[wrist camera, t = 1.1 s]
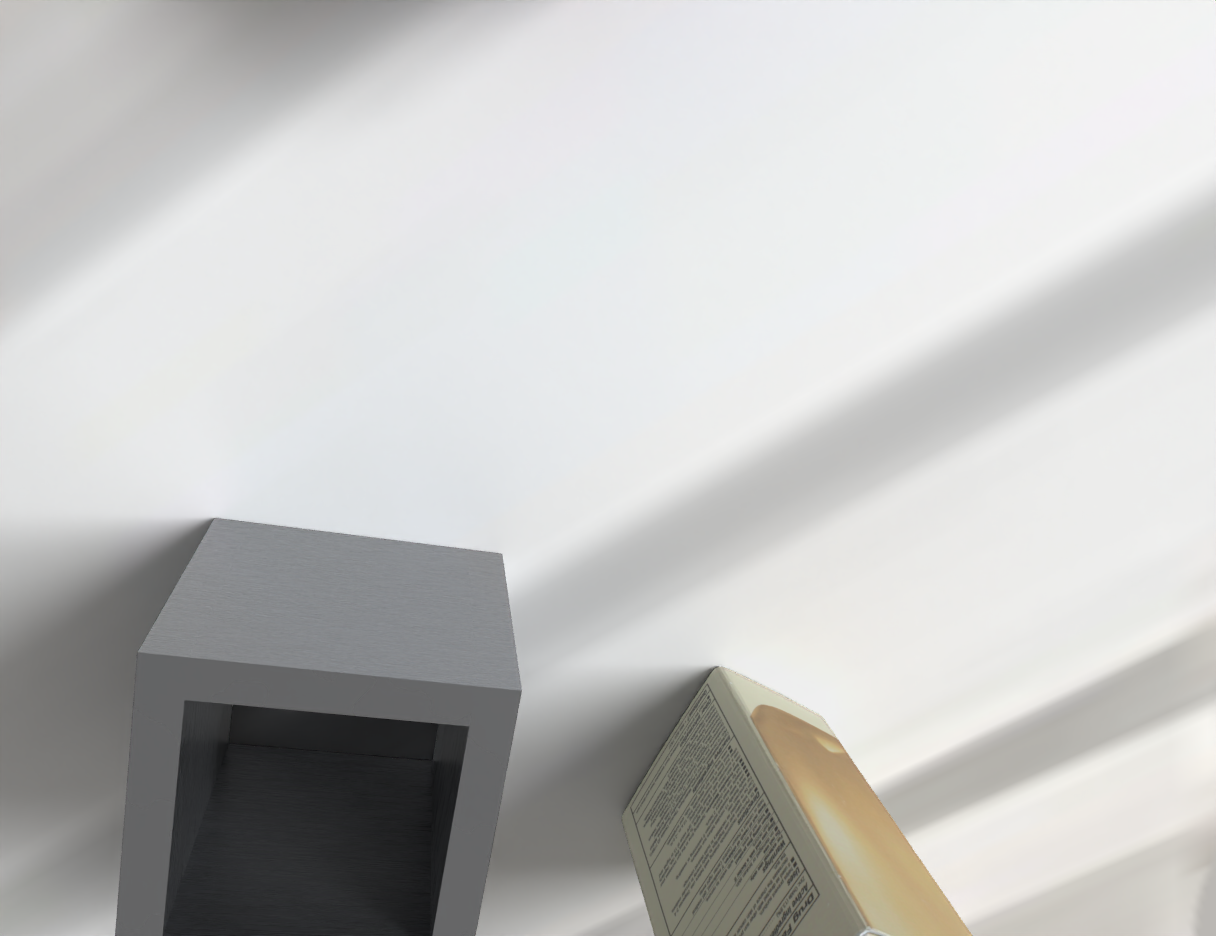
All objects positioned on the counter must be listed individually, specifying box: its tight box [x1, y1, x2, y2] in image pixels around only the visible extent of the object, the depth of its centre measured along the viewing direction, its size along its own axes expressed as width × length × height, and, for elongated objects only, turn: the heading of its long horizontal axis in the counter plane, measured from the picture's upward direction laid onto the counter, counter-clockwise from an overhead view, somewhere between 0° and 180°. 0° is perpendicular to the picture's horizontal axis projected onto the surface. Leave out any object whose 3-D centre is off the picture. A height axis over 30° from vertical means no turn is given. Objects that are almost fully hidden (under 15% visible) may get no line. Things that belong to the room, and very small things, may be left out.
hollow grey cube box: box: [115, 518, 522, 936], centre depth 28 cm, size 8×8×8 cm
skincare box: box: [622, 667, 972, 936], centre depth 29 cm, size 6×4×12 cm
